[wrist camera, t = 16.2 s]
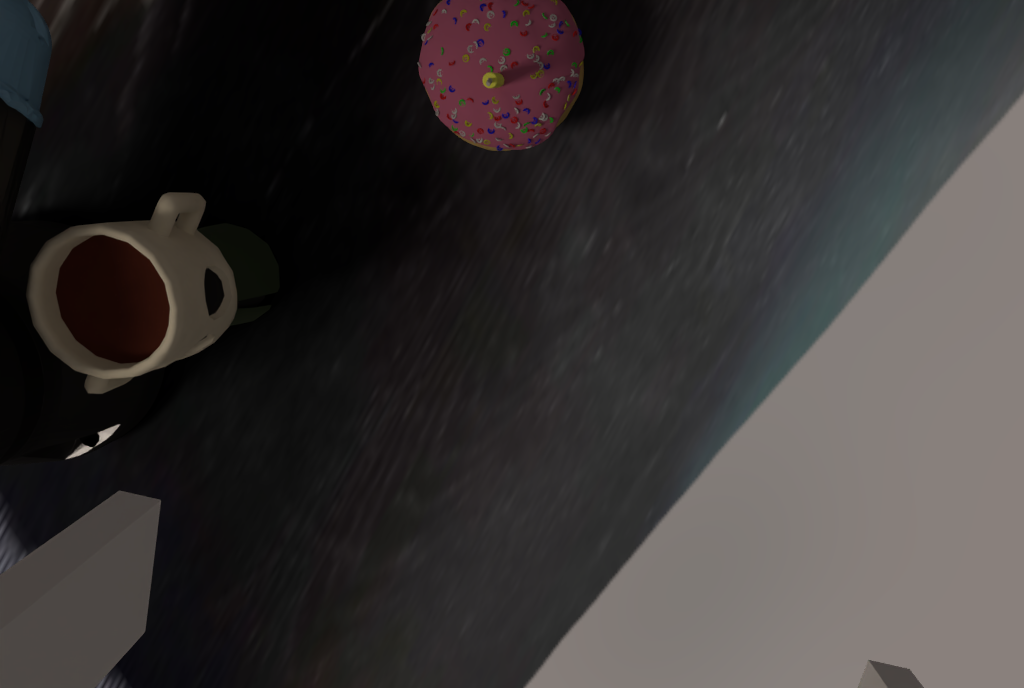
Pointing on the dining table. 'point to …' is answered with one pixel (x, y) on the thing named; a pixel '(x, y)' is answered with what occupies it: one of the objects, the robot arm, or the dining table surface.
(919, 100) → the dining table surface
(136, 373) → the character mug
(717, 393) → the dining table surface
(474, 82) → the cupcake
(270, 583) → the dining table surface
